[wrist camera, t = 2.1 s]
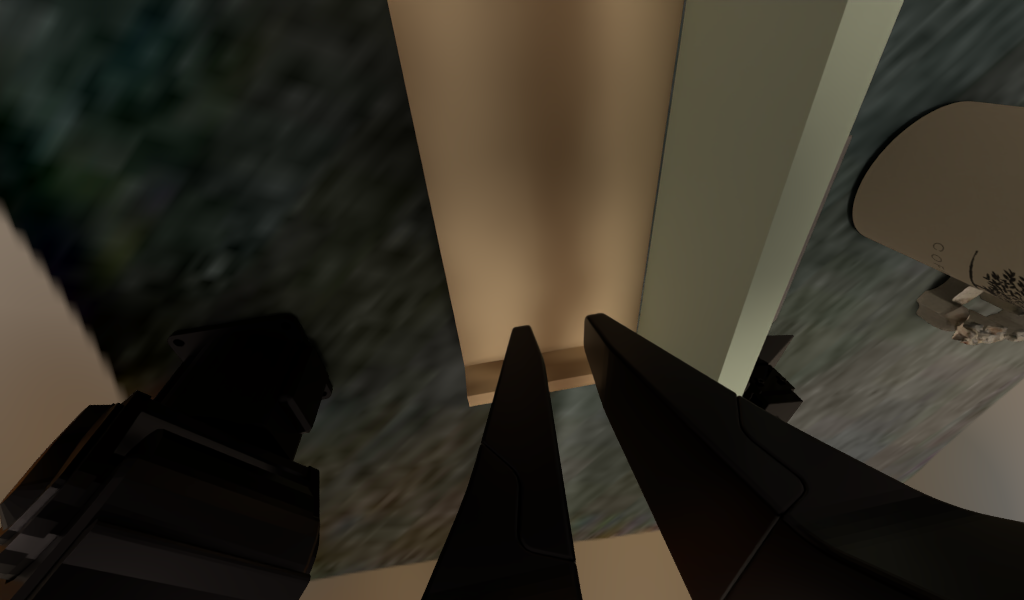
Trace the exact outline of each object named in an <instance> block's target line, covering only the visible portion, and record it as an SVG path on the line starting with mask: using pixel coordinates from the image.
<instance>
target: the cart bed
mask: <svg viewBox="0 0 1024 600" xmlns="http://www.w3.org/2000/svg"><path fill="white" fill-rule="evenodd" d="M387 1H388V6H389V11H390V15H391V20H392V25H393V29H394V34H395V39H396V44H397V48H398V53H399V58H400V62H401V67H402V72H403V77H404V81H405V86H406V91H407V95H408V100H409V105H410V110H411V114H412V119H413V124H414V128H415V133H416V138H417V143H418V147H419V152H420V157H421V162H422V166H423V171H424V176H425V180H426V185H427V190H428V195H429V199H430V204H431V209H432V213H433V218H434V223H435V228H436V232H437V237H438V242H439V246H440V251H441V256H442V261H443V265H444V270H445V275H446V279H447V284H448V289H449V294H450V298H451V303H452V308H453V312H454V317H455V322H456V327H457V331H458V336H459V341H460V345H461V350H462V355H463V360H464V364H465V373H466V385H467V397H468V401H469V406H476V405H481V404H487V403H492V401H493V397H494V393H495V390H496V386H497V383H498V379H499V375H500V372H501V368H502V364H503V361H504V357H505V353H506V350H507V346H508V343H509V339H510V335H511V332H512V329H513V328H514V327H518V326H524V325H530V326H531V328H532V330H533V333H534V335H535V338H536V340H537V343H538V345H539V348H540V350H541V353H542V356H543V358H544V362H545V367H546V373H547V379H548V386H549V392H552V391H558V390H563V389H569V388H574V387H580V386H585V385H591V384H595V381H594V378H593V375H592V372H591V369H590V366H589V363H588V360H587V357H586V353H585V350H584V343H583V340H584V320H585V317H586V316H587V315H591V314H597V313H604V314H606V315H608V316H609V317H611V318H613V319H614V320H616V321H617V322H619V323H621V324H622V325H624V326H626V327H627V328H629V329H631V330H632V331H634V332H636V329H637V322H638V315H639V308H640V301H641V294H642V288H643V281H644V274H645V267H646V260H647V253H648V246H649V239H650V232H651V225H652V218H653V211H654V204H655V198H656V191H657V184H658V177H659V170H660V163H661V156H662V149H663V142H664V135H665V128H666V121H667V114H668V108H669V101H670V94H671V87H672V80H673V73H674V66H675V59H676V52H677V45H678V38H679V31H680V24H681V18H682V11H683V4H684V0H387Z"/></svg>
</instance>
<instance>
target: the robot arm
mask: <svg viewBox="0 0 1024 600" xmlns="http://www.w3.org/2000/svg"><path fill="white" fill-rule="evenodd" d="M283 322H286V323H289V324H290V325H286V324H284V323H283ZM180 340H182V341H180ZM167 342H168V344H169V345H170V346H171V348H172V349H173V350H174V351H175V353H176V354H177V355H178V356H179V358H180V359H181V360H182V361H183V363H182V364H181V366H180V367H179V368H178V369H177V371H176V372H175V373H174V375H173V376H172V377H171V378H170V380H169V381H168V382H167V383H166V385H165V386H164V387H163V389H162V390H161V391H160V392H159V394H158V395H157V396H156V397H155V399H154V400H152V399H150V398H151V396H149V395H147V394H145V393H143V392H140V391H138V390H137V391H135V392H134V393H133V394H132V395H131V396H130V397H128V398H127V399H126V400H125V401H124V402H123V403H121V404H120V403H117V404H114V403H113V404H112V405H89V406H88V407H87V408H86V409H84V410H83V411H82V412H81V413H80V414H79V415H78V416H77V417H76V418H75V419H74V421H72V423H71V424H70V425H69V426H68V427H67V428H66V429H65V430H64V431H63V432H62V433H61V434H60V435H59V436H58V437H57V438H56V439H55V440H54V441H53V442H52V444H51V445H50V446H49V447H48V448H47V449H46V450H45V451H44V452H43V453H42V454H41V456H40V457H39V458H38V459H37V460H36V461H35V462H34V464H33V465H32V466H31V467H30V468H29V470H28V471H27V472H26V473H25V474H24V476H23V477H22V478H21V479H20V480H19V481H18V483H17V484H16V485H15V486H14V488H13V489H12V490H11V491H10V492H9V493H8V495H7V496H6V497H5V498H4V499H3V501H2V502H1V503H0V519H1V525H2V527H1V528H0V600H299V598H300V597H301V595H302V593H303V591H304V590H305V588H306V587H307V585H308V583H309V581H310V577H311V576H310V571H311V569H312V566H313V564H314V561H315V558H316V554H317V550H318V546H319V530H320V519H319V470H317V469H315V468H313V467H311V466H309V467H306V466H303V465H301V464H299V463H296V462H294V461H293V460H294V457H295V454H296V451H297V448H298V445H299V443H300V440H301V437H302V434H304V433H308V432H310V430H311V429H312V427H313V424H314V421H315V418H316V415H317V412H318V409H319V406H320V402H321V400H322V399H327V398H329V397H330V396H331V394H332V390H333V388H332V386H331V384H330V382H329V380H328V378H329V375H328V373H327V371H326V369H325V367H324V365H323V363H322V362H321V360H320V358H319V356H318V354H317V352H316V350H315V348H314V347H313V346H312V345H310V344H309V342H308V340H307V338H306V336H305V334H304V332H303V330H302V328H301V326H300V324H299V322H298V321H297V319H296V318H295V317H293V316H292V315H278V316H271V317H265V318H258V319H252V320H245V321H239V322H233V323H226V324H220V325H213V326H207V327H200V328H194V329H187V330H181V331H176V332H174V333H173V334H172V335H171V336H170V337H169V338H168V341H167ZM583 343H584V350H585V353H586V357H587V360H588V363H589V366H590V369H591V372H592V375H593V378H594V381H595V384H596V387H597V390H598V393H599V396H600V399H601V402H602V405H603V408H604V410H605V413H606V415H607V417H608V419H609V422H610V424H611V426H612V428H613V430H614V432H615V435H616V437H617V439H618V441H619V443H620V445H621V447H622V450H623V452H624V454H625V456H626V458H627V460H628V463H629V465H630V467H631V469H632V471H633V473H634V475H635V478H636V480H637V482H638V484H639V486H640V488H641V491H642V493H643V495H644V497H645V499H646V501H647V503H648V506H649V508H650V510H651V512H652V514H653V516H654V519H655V521H656V523H657V525H658V527H659V529H660V531H661V534H662V536H663V538H664V540H665V542H666V544H667V546H668V549H669V551H670V553H671V555H672V557H673V559H674V562H675V564H676V566H677V568H678V570H679V572H680V575H681V577H682V579H683V581H684V583H685V585H686V587H687V590H688V592H689V594H690V596H691V598H692V600H1024V522H1019V521H1014V520H1009V519H1004V518H999V517H994V516H990V515H985V514H981V513H977V512H974V511H970V510H966V509H963V508H960V507H957V506H954V505H951V504H948V503H945V502H943V501H940V500H938V499H935V498H933V497H931V496H928V495H926V494H924V493H922V492H920V491H917V490H915V489H913V488H911V487H909V486H907V485H905V484H903V483H901V482H899V481H898V480H896V479H894V478H892V477H890V476H888V475H886V474H884V473H882V472H880V471H878V470H876V469H874V468H872V467H870V466H868V465H866V464H864V463H862V462H861V461H859V460H857V459H855V458H853V457H851V456H849V455H847V454H845V453H843V452H841V451H839V450H837V449H835V448H833V447H831V446H829V445H827V444H825V443H824V442H822V441H820V440H818V439H816V438H814V437H812V436H810V435H808V434H807V433H805V432H803V431H801V430H799V429H797V428H795V427H794V426H792V425H790V424H788V423H786V422H784V421H783V420H781V419H779V418H777V417H776V416H774V415H772V414H771V413H769V412H767V411H765V410H764V409H762V408H760V407H758V406H757V405H755V404H753V403H752V402H750V401H749V400H747V399H745V398H744V397H742V396H737V394H736V393H735V392H733V391H732V390H730V389H728V388H727V387H725V386H723V385H722V384H720V383H718V382H717V381H715V380H714V379H712V378H710V377H709V376H707V375H705V374H704V373H702V372H700V371H699V370H697V369H695V368H694V367H692V366H690V365H689V364H687V363H685V362H684V361H682V360H680V359H679V358H677V357H675V356H674V355H672V354H670V353H669V352H667V351H665V350H664V349H662V348H661V347H659V346H657V345H656V344H654V343H652V342H651V341H649V340H647V339H646V338H644V337H642V336H641V335H639V334H637V333H636V332H634V331H632V330H631V329H629V328H627V327H626V326H624V325H622V324H621V323H619V322H617V321H616V320H614V319H613V318H611V317H609V316H608V315H606V314H604V313H597V314H591V315H587V316H586V317H585V320H584V340H583ZM324 391H325V392H324ZM481 444H482V445H480V447H479V451H478V454H477V458H476V462H475V465H474V468H473V471H472V474H471V477H470V481H469V484H468V487H467V490H466V492H465V495H464V498H463V500H462V503H461V505H460V508H459V511H458V513H457V516H456V518H455V521H454V523H453V525H452V528H451V530H450V533H449V535H448V537H447V540H446V542H445V544H444V547H443V549H442V551H441V554H440V556H439V559H438V561H437V563H436V566H435V568H434V570H433V573H432V575H431V578H430V580H429V582H428V585H427V587H426V590H425V592H424V594H423V596H422V599H421V600H583V599H582V594H581V589H580V583H579V577H578V571H577V566H576V558H575V552H574V546H573V539H572V533H571V526H570V520H569V513H568V507H567V501H566V494H565V488H564V481H563V475H562V469H561V462H560V456H559V450H558V443H557V437H556V430H555V424H554V418H553V411H552V405H551V398H550V392H549V386H548V379H547V373H546V367H545V362H544V358H543V356H542V353H541V350H540V348H539V345H538V343H537V340H536V338H535V335H534V333H533V330H532V328H531V326H530V325H524V326H518V327H514V328H513V329H512V332H511V335H510V339H509V343H508V346H507V350H506V353H505V357H504V361H503V364H502V368H501V372H500V375H499V379H498V383H497V386H496V390H495V393H494V397H493V401H492V404H491V408H490V412H489V415H488V419H487V422H486V426H485V430H484V433H483V437H482V441H481Z"/></svg>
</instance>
